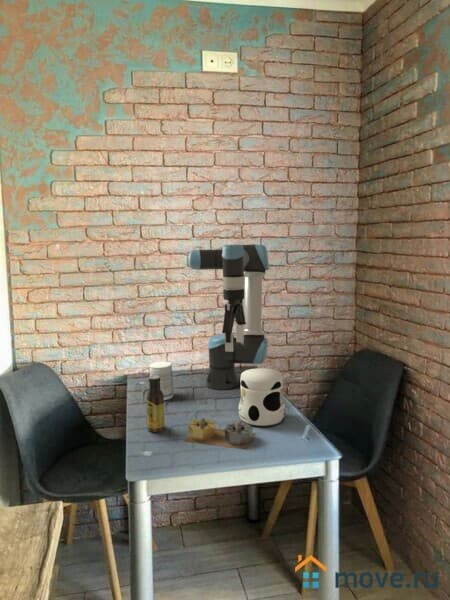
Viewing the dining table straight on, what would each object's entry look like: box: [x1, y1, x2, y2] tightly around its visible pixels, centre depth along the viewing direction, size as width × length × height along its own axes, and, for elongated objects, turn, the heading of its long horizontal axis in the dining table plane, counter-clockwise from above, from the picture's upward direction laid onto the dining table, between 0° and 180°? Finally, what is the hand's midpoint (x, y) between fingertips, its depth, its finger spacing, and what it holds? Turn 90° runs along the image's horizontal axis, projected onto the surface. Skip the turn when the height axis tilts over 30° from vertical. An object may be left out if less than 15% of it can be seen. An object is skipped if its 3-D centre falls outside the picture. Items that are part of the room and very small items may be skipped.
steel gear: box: [224, 422, 254, 446], centre depth 152 cm, size 9×9×4 cm
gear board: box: [183, 416, 257, 450], centre depth 154 cm, size 12×22×7 cm, turn 72°
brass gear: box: [187, 418, 217, 441], centre depth 156 cm, size 9×9×4 cm
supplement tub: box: [149, 361, 174, 401], centre depth 195 cm, size 10×10×15 cm
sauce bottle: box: [145, 375, 166, 433], centre depth 163 cm, size 6×6×20 cm
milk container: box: [238, 367, 286, 428], centre depth 168 cm, size 17×17×18 cm
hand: (234, 346), depth 165 cm, fingers open, 13 cm apart
